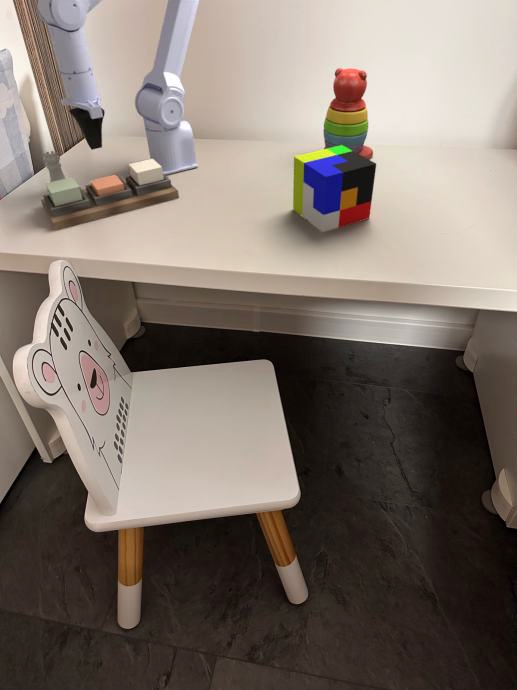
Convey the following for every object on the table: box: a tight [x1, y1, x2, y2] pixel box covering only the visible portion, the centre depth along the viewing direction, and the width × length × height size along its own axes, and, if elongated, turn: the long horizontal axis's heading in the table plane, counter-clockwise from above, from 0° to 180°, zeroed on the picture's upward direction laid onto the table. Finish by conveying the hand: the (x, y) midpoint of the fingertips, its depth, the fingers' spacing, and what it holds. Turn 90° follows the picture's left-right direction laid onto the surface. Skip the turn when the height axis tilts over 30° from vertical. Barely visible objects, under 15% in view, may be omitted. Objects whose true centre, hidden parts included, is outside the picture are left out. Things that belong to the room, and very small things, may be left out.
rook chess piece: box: [42, 150, 67, 182], centre depth 99 cm, size 4×4×8 cm
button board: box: [40, 174, 180, 231], centre depth 96 cm, size 24×11×3 cm, turn 119°
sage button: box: [44, 176, 83, 206], centre depth 92 cm, size 5×5×2 cm
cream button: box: [128, 158, 164, 185], centre depth 97 cm, size 5×5×2 cm
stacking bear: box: [323, 67, 374, 160], centre depth 105 cm, size 11×10×18 cm
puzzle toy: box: [292, 145, 377, 233], centre depth 88 cm, size 10×10×10 cm
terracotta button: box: [89, 174, 125, 197], centre depth 96 cm, size 5×5×2 cm
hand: (95, 147), depth 97 cm, fingers closed
